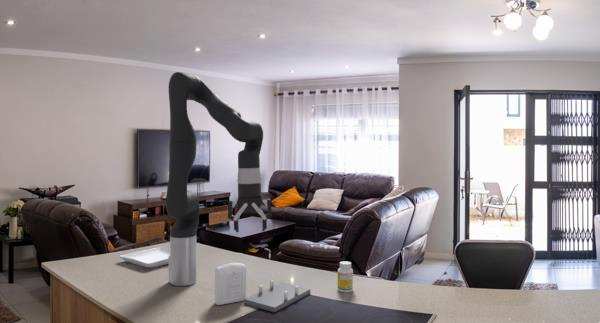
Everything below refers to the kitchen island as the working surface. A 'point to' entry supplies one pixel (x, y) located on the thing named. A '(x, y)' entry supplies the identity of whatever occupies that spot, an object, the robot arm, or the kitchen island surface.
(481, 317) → the kitchen island surface
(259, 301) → the pin tray
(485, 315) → the kitchen island surface
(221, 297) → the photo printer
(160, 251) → the salad plate
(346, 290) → the supplement bottle
